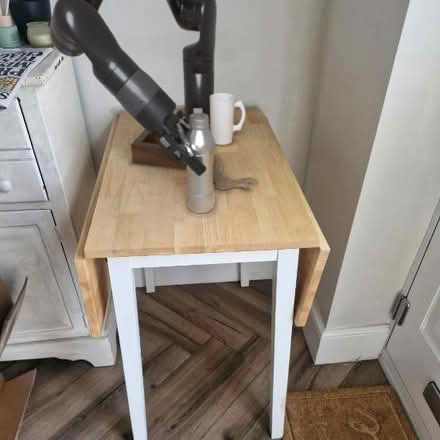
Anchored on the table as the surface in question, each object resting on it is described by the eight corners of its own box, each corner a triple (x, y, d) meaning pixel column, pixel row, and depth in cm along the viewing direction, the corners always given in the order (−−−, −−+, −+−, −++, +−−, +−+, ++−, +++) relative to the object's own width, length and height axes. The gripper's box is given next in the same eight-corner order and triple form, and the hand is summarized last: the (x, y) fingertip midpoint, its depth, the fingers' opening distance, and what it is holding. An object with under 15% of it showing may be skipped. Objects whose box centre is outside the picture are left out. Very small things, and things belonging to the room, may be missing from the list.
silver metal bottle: (192, 219, 91) (189, 124, 78) (181, 204, 95) (177, 112, 82) (220, 213, 93) (221, 119, 80) (208, 199, 97) (207, 108, 84)
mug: (211, 146, 120) (211, 101, 112) (208, 136, 125) (208, 93, 117) (246, 144, 121) (249, 100, 113) (241, 135, 126) (243, 92, 118)
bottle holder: (150, 143, 121) (148, 125, 118) (196, 148, 119) (196, 130, 116) (133, 163, 111) (130, 144, 108) (183, 168, 109) (182, 149, 106)
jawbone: (226, 200, 98) (226, 192, 97) (187, 166, 112) (186, 159, 110) (259, 188, 101) (259, 180, 100) (217, 157, 115) (216, 149, 113)
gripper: (148, 99, 73) (214, 167, 80) (166, 76, 84) (223, 138, 90) (122, 128, 77) (187, 191, 84) (143, 102, 88) (199, 160, 94)
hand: (206, 163), depth 87 cm, fingers open, 8 cm apart
